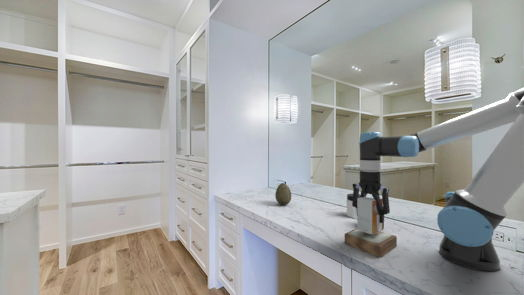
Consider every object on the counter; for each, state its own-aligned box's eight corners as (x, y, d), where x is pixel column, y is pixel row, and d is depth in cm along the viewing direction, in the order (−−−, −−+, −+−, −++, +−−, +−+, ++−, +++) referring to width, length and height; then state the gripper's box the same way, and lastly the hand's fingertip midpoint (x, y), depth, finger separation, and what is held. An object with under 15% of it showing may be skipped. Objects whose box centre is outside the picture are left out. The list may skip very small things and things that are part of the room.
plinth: (396, 246, 84) (396, 235, 84) (380, 257, 75) (380, 245, 75) (362, 234, 95) (361, 225, 95) (344, 243, 86) (344, 233, 86)
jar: (349, 218, 116) (349, 196, 116) (344, 213, 124) (344, 193, 124) (366, 218, 115) (366, 196, 115) (360, 214, 123) (360, 193, 123)
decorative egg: (276, 202, 149) (275, 181, 149) (291, 203, 148) (291, 181, 148) (274, 207, 139) (274, 184, 139) (291, 207, 137) (291, 184, 137)
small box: (372, 235, 80) (372, 201, 80) (356, 229, 85) (356, 197, 85) (383, 230, 85) (383, 197, 85) (367, 225, 90) (367, 194, 90)
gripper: (400, 172, 79) (400, 233, 80) (352, 168, 95) (352, 219, 95) (392, 173, 75) (392, 238, 75) (342, 169, 90) (342, 222, 90)
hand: (370, 227), depth 85 cm, fingers closed on small box, 6 cm apart
